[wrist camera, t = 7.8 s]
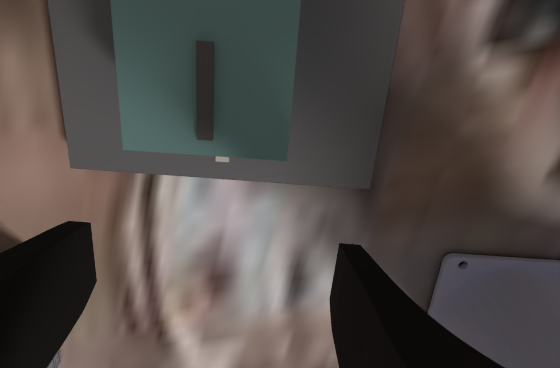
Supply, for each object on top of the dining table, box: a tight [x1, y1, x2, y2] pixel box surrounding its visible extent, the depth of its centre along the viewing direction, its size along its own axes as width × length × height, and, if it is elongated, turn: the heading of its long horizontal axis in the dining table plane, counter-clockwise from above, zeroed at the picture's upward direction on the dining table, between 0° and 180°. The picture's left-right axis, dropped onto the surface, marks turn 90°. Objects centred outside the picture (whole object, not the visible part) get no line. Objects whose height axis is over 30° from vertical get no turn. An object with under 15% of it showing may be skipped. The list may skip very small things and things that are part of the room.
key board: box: [47, 0, 405, 189], centre depth 16 cm, size 14×14×5 cm
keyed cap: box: [110, 0, 301, 161], centre depth 14 cm, size 5×8×5 cm
